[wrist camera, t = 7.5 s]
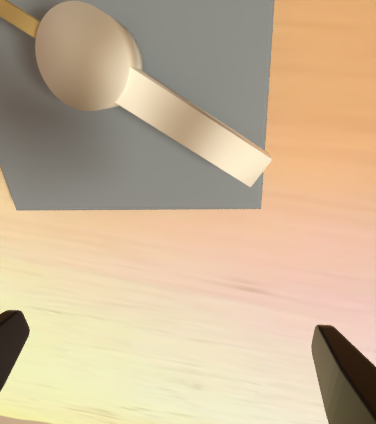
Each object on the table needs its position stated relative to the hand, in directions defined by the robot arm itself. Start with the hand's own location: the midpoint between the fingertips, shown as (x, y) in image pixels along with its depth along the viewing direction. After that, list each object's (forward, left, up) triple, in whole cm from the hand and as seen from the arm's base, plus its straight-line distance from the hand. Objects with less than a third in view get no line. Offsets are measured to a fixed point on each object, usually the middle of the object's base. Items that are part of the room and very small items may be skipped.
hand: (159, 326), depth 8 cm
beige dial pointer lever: (+5, -8, -10) cm, 14 cm away
